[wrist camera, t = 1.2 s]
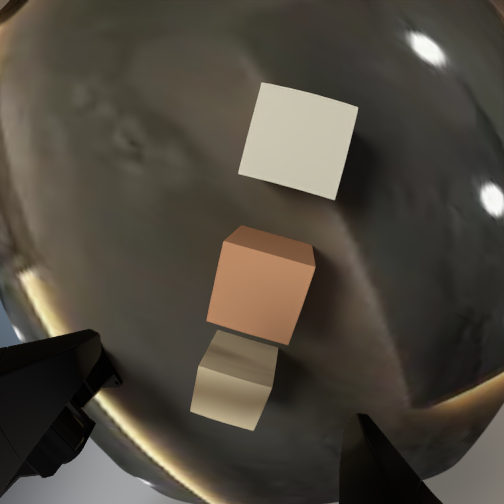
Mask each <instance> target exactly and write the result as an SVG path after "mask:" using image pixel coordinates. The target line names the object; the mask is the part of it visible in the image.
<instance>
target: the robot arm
mask: <svg viewBox="0 0 504 504" xmlns="http://www.w3.org/2000/svg"><path fill="white" fill-rule="evenodd" d="M121 385H122V380H121V379H120V377H119V376H118V374H117V373H116V371H115V370H114V368H113V366H112V365H111V363H110V362H109V360H108V358H107V357H106V355H105V353H104V352H103V350H102V348H101V341H100V334H99V333H98V332H96V331H94V330H92V329H87V330H83V331H78V332H74V333H69V334H65V335H61V336H56V337H52V338H47V339H42V340H38V341H33V342H28V343H23V344H18V345H13V346H9V347H8V348H7V347H3V348H0V498H1V497H2V495H3V494H4V493H5V492H6V491H7V490H8V489H9V488H10V487H11V486H12V485H13V483H15V482H16V481H17V480H18V479H19V478H20V477H28V476H36V475H40V476H41V477H42V478H46V477H50V476H53V475H54V474H55V473H56V471H57V470H58V469H59V467H60V466H61V465H62V464H66V463H68V462H70V461H72V460H73V459H74V458H76V457H77V456H78V455H79V454H80V452H81V451H82V449H83V448H84V446H85V444H86V442H87V440H88V438H89V436H90V434H91V432H92V430H93V428H94V426H95V424H96V423H95V422H94V421H93V419H91V418H90V417H89V416H88V415H87V414H86V413H85V412H84V411H83V409H84V408H85V407H86V406H87V405H88V403H89V402H90V401H91V400H92V399H93V398H94V397H95V395H96V394H97V393H98V392H99V391H100V390H101V389H102V388H108V387H120V386H121ZM339 504H443V503H442V502H441V501H440V500H439V499H438V498H437V497H436V496H435V495H434V494H433V493H432V492H431V491H430V489H429V488H428V487H427V486H426V485H425V483H424V482H423V481H421V479H420V478H419V476H418V475H417V474H416V473H415V472H414V470H413V469H412V468H411V467H410V465H409V464H408V463H407V462H406V461H405V459H404V458H403V457H402V456H401V455H400V453H399V452H398V451H397V450H396V448H395V447H394V446H393V445H392V444H391V442H390V441H389V440H388V439H387V437H386V436H385V435H384V434H383V433H382V431H381V430H380V429H379V428H378V426H377V425H376V424H375V423H374V422H373V420H372V419H371V418H370V417H369V416H368V415H367V414H362V413H356V414H355V415H354V416H353V418H352V419H351V420H350V422H349V423H348V425H347V426H346V428H345V430H344V433H343V443H342V452H341V461H340V470H339Z"/></svg>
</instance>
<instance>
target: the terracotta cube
mask: <svg viewBox="0 0 504 504" xmlns="http://www.w3.org/2000/svg"><path fill="white" fill-rule="evenodd" d="M314 271H315V260H314V254H313V248H312V245H310V244H306V243H303V242H299V241H296V240H292V239H289V238H285V237H282V236H278V235H275V234H271V233H268V232H264V231H260V230H257V229H253V228H250V227H246V226H242V225H241V226H240V227H239V228H238V229H237V230H236V231H234V232H233V233H232V234H231V235H230V236H229V237H228V238H226V239H225V240H224V242H223V246H222V251H221V255H220V260H219V264H218V269H217V273H216V278H215V282H214V287H213V292H212V297H211V301H210V306H209V311H208V316H207V321H209V322H212V323H215V324H218V325H221V326H224V327H227V328H231V329H234V330H237V331H240V332H244V333H247V334H251V335H254V336H257V337H261V338H264V339H268V340H272V341H275V342H279V343H283V344H286V345H288V344H289V341H290V339H291V336H292V333H293V331H294V328H295V325H296V322H297V320H298V317H299V314H300V311H301V308H302V306H303V303H304V300H305V297H306V294H307V291H308V288H309V285H310V283H311V280H312V277H313V274H314Z"/></svg>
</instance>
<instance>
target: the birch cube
mask: <svg viewBox="0 0 504 504" xmlns="http://www.w3.org/2000/svg"><path fill="white" fill-rule="evenodd" d="M277 354H278V347H274V346H271V345H267V344H263V343H260V342H256V341H253V340H250V339H246V338H243V337H240V336H236V335H233V334H230V333H227V332H223V331H220V330H217V332H216V334H215V336H214V338H213V340H212V342H211V344H210V346H209V347H208V349H207V351H206V353H205V355H204V357H203V359H202V361H201V362H200V364H199V367H198V372H197V377H196V383H195V388H194V393H193V399H192V404H191V410H190V411H191V412H193V413H196V414H199V415H202V416H205V417H208V418H211V419H214V420H217V421H221V422H224V423H227V424H231V425H234V426H238V427H241V428H245V429H249V430H253V431H254V429H255V426H256V424H257V422H258V420H259V417H260V415H261V413H262V411H263V408H264V406H265V404H266V401H267V399H268V397H269V394H270V392H271V390H272V386H273V380H274V374H275V367H276V361H277Z"/></svg>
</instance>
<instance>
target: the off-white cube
mask: <svg viewBox="0 0 504 504" xmlns="http://www.w3.org/2000/svg"><path fill="white" fill-rule="evenodd" d="M357 111H358V107H355V106H352V105H349V104H346V103H343V102H340V101H336V100H333V99H329V98H326V97H322V96H319V95H315V94H311V93H307V92H303V91H299V90H295V89H291V88H286V87H282V86H277V85H272V84H267V83H262V84H261V88H260V91H259V95H258V99H257V102H256V106H255V110H254V114H253V117H252V121H251V125H250V129H249V133H248V137H247V140H246V144H245V148H244V152H243V156H242V160H241V164H240V168H239V172H238V174H241V175H245V176H249V177H253V178H257V179H261V180H265V181H269V182H272V183H276V184H280V185H284V186H287V187H291V188H294V189H298V190H302V191H305V192H308V193H312V194H315V195H319V196H322V197H325V198H329V199H332V200H335V197H336V194H337V190H338V187H339V183H340V179H341V176H342V172H343V168H344V164H345V161H346V157H347V153H348V149H349V145H350V141H351V137H352V133H353V128H354V124H355V120H356V116H357Z"/></svg>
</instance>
